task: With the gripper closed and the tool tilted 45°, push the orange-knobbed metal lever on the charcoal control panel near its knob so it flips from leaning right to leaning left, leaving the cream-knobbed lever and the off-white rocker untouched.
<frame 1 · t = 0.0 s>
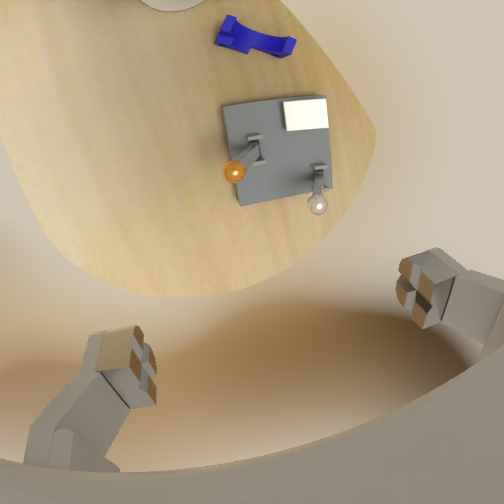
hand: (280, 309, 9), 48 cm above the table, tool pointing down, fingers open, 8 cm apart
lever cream: (318, 190, 47), point 11 cm above the table, hinge at -25.0°
panel: (276, 145, 54), on the table
lever orange: (245, 159, 43), point 11 cm above the table, hinge at -25.0°
rocker: (305, 114, 46), point 6 cm above the table, hinge at 12.0°
cable clip: (250, 43, 43), on the table
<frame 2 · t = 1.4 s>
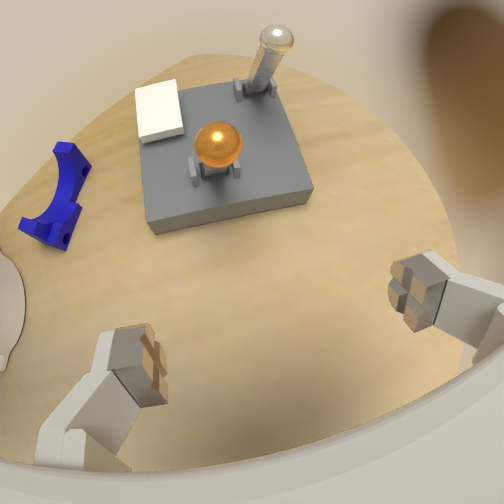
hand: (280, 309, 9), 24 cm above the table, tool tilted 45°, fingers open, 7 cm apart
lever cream: (264, 66, 27), point 11 cm above the table, hinge at -25.0°
panel: (217, 154, 37), on the table
lever orange: (215, 158, 24), point 11 cm above the table, hinge at -25.0°
rocker: (158, 110, 31), point 6 cm above the table, hinge at 12.0°
cable clip: (71, 205, 34), on the table
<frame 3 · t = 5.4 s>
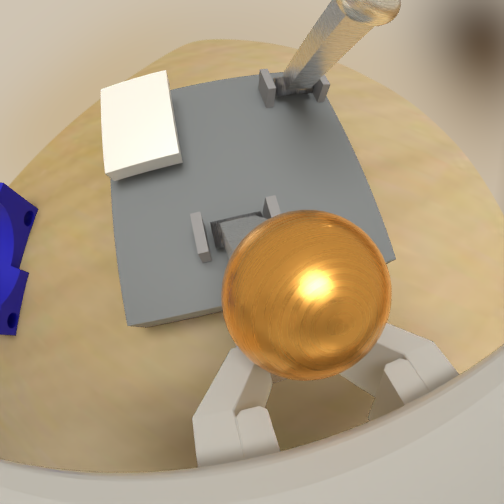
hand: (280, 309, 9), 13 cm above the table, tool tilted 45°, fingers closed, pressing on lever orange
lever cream: (322, 49, 15), point 11 cm above the table, hinge at -25.0°
panel: (236, 190, 24), on the table
lever orange: (255, 246, 11), point 11 cm above the table, hinge at -24.9°, touching gripper
rocker: (138, 122, 18), point 6 cm above the table, hinge at 12.0°
cable clip: (16, 267, 22), on the table
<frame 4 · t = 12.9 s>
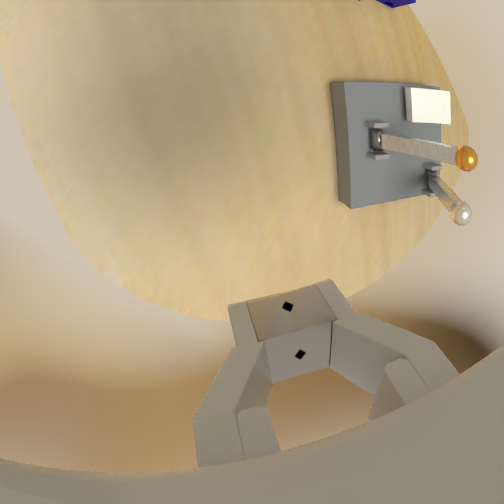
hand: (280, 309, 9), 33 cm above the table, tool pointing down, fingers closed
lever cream: (445, 194, 35), point 11 cm above the table, hinge at -25.0°
panel: (385, 138, 41), on the table
lever orange: (422, 148, 31), point 11 cm above the table, hinge at 24.9°
rocker: (428, 105, 33), point 6 cm above the table, hinge at 12.0°
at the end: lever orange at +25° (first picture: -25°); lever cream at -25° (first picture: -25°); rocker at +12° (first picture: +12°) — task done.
